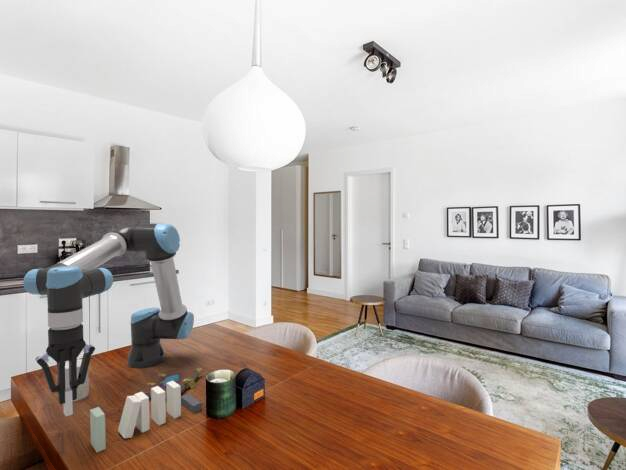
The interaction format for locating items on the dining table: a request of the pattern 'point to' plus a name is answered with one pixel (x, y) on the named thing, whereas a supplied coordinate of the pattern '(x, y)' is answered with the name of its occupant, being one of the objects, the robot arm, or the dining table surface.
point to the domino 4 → (158, 405)
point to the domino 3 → (143, 413)
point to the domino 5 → (173, 399)
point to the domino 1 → (97, 429)
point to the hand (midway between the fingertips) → (68, 413)
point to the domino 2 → (129, 416)
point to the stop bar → (191, 403)
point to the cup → (83, 388)
